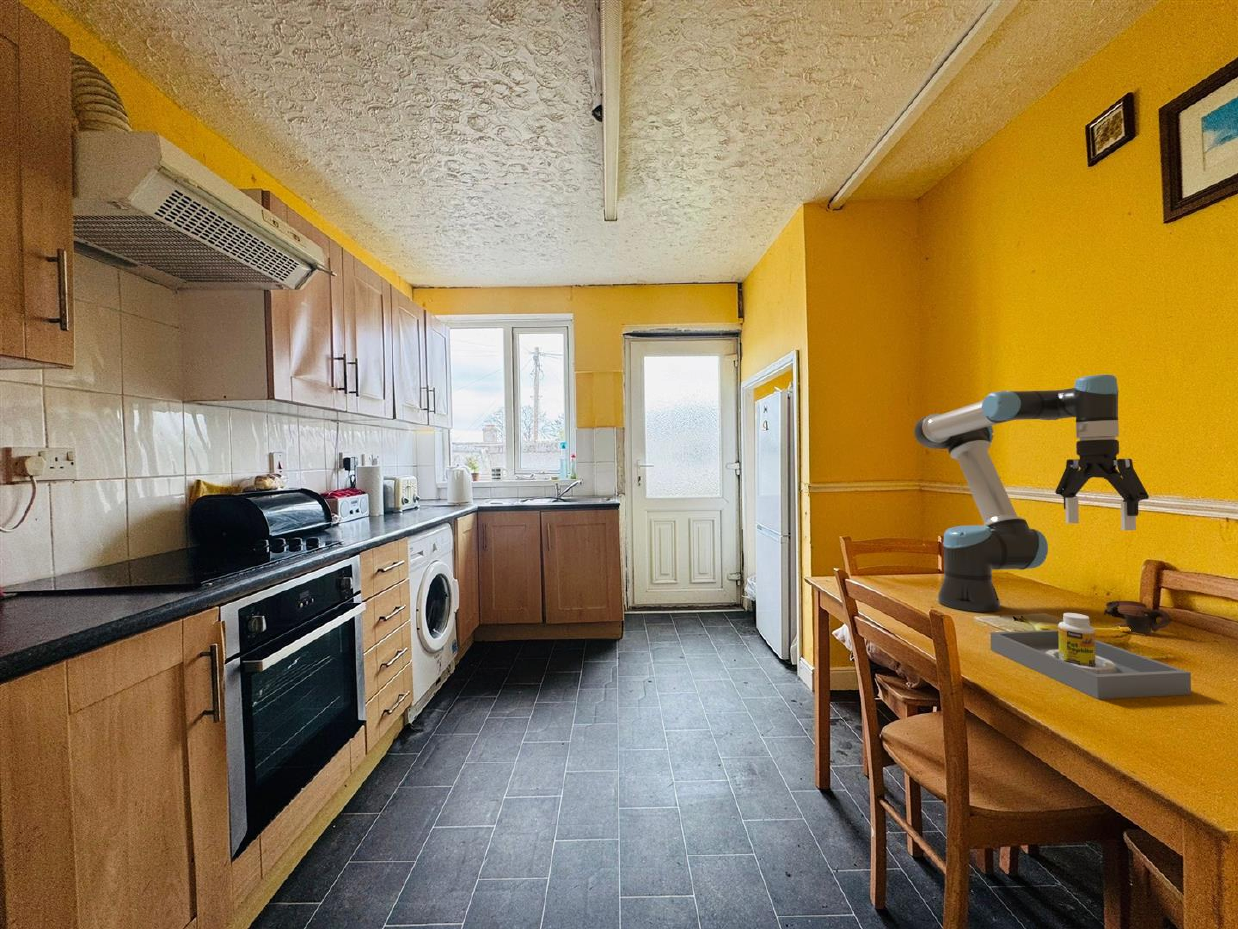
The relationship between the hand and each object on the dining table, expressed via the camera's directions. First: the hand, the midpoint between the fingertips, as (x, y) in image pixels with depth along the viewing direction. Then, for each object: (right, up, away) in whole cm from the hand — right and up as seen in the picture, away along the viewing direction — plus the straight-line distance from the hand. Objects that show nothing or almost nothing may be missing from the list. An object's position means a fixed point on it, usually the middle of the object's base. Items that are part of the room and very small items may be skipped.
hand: (1098, 526), depth 121 cm
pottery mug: (+13, -27, +3) cm, 30 cm away
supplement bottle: (-23, -26, -19) cm, 40 cm away
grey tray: (-22, -27, -19) cm, 40 cm away
